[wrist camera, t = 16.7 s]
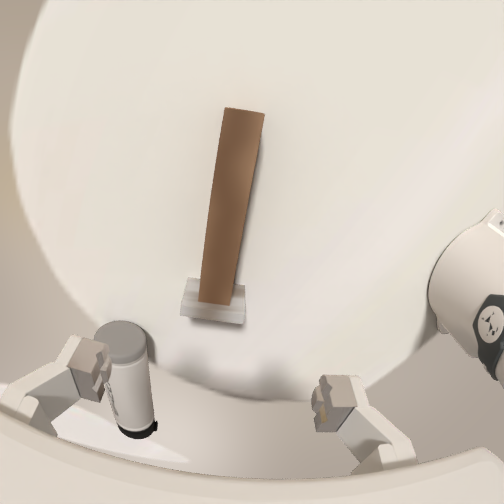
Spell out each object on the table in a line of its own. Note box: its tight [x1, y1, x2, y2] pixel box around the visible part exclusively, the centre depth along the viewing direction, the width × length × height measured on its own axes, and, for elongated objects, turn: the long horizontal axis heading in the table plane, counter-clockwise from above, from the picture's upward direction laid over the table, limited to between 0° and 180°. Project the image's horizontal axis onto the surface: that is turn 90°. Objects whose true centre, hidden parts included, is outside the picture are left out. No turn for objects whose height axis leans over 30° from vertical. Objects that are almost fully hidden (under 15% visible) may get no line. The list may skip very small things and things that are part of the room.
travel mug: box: [94, 321, 158, 439], centre depth 36 cm, size 6×7×20 cm
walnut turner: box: [180, 107, 265, 324], centre depth 27 cm, size 6×19×5 cm, turn 170°
